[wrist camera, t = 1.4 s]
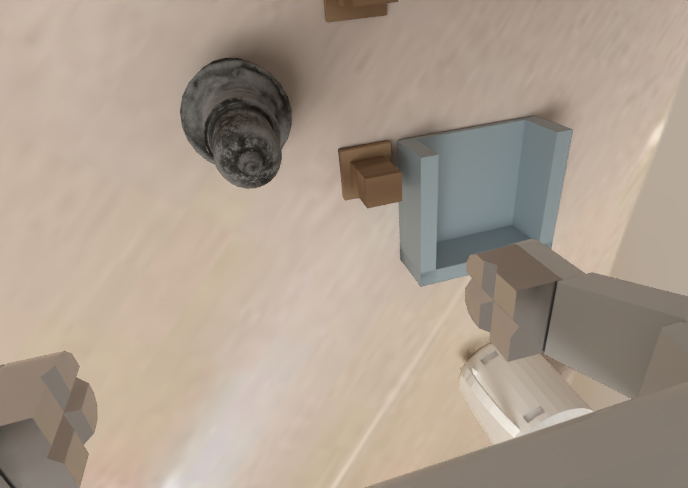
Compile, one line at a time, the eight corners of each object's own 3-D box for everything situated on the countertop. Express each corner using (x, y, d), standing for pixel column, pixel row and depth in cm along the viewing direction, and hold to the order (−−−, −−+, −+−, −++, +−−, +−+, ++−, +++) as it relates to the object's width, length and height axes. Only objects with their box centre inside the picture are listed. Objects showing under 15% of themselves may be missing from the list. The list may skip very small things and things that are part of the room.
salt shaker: (257, 36, 25) (293, 62, 15) (296, 129, 28) (347, 202, 18) (163, 76, 25) (135, 130, 15) (213, 166, 28) (217, 260, 18)
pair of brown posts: (318, -52, 24) (337, -60, 21) (380, -57, 25) (408, -65, 21) (342, 197, 32) (359, 221, 28) (389, 188, 32) (411, 210, 29)
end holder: (397, 140, 31) (421, 157, 27) (535, 115, 33) (572, 129, 29) (400, 259, 36) (420, 286, 32) (519, 231, 38) (549, 254, 35)
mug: (547, 358, 48) (613, 429, 40) (485, 411, 49) (537, 488, 42) (493, 308, 42) (559, 380, 34) (424, 369, 43) (472, 452, 35)
